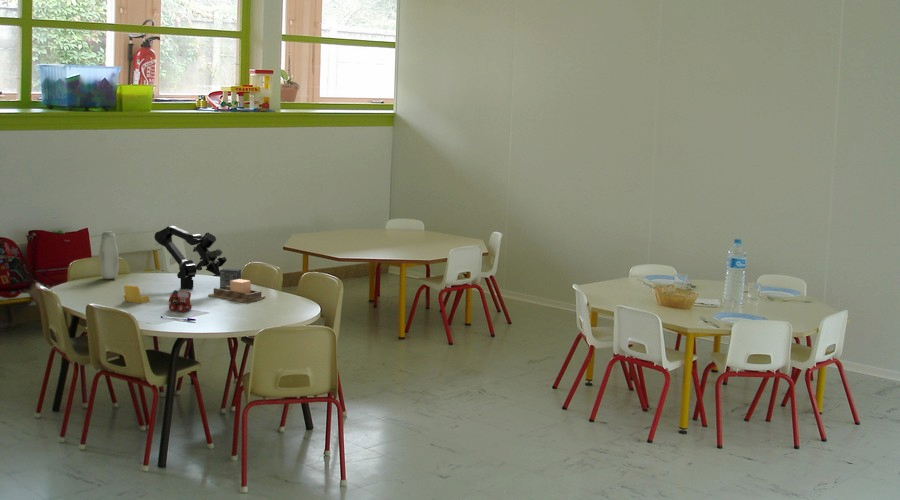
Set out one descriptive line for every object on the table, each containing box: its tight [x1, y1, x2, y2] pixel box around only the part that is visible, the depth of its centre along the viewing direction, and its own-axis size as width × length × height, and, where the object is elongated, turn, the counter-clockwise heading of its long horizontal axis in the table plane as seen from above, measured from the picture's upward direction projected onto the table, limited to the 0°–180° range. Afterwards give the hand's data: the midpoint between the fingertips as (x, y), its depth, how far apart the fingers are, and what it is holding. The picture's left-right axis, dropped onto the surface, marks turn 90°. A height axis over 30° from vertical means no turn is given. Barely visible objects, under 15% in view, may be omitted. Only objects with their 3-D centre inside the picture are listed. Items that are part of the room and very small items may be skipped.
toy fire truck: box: [168, 289, 193, 314], centre depth 495 cm, size 7×12×10 cm, turn 69°
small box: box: [219, 268, 242, 289], centre depth 555 cm, size 11×6×10 cm, turn 84°
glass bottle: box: [98, 230, 120, 280], centre depth 567 cm, size 10×10×28 cm
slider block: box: [230, 278, 252, 294], centre depth 529 cm, size 8×7×8 cm
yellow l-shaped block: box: [123, 284, 151, 304], centre depth 512 cm, size 10×10×9 cm
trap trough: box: [207, 286, 266, 304], centre depth 531 cm, size 26×16×4 cm, turn 60°
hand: (219, 275), depth 536 cm, fingers closed
